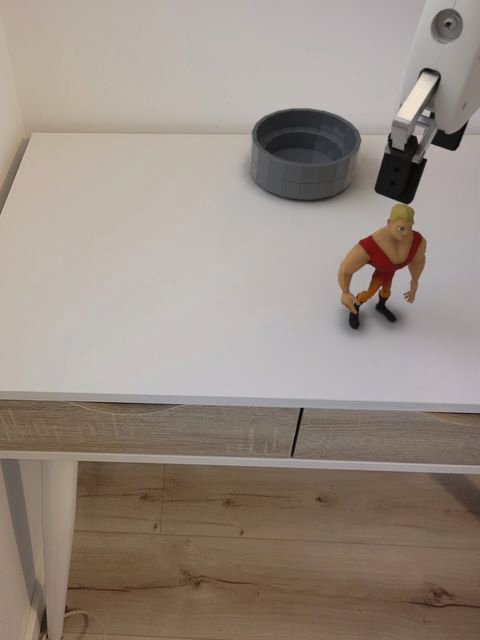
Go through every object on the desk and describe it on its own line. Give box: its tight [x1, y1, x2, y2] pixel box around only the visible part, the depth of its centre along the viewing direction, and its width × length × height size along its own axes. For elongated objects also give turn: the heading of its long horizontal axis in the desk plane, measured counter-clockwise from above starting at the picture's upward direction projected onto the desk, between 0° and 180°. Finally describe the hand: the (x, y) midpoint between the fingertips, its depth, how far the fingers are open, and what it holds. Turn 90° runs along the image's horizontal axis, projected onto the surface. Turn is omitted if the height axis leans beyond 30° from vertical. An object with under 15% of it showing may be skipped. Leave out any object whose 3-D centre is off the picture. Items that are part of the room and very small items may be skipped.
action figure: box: [337, 203, 428, 330], centre depth 61 cm, size 10×4×15 cm, turn 103°
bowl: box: [248, 107, 362, 200], centre depth 83 cm, size 14×14×6 cm
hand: (417, 169), depth 52 cm, fingers open, 9 cm apart
